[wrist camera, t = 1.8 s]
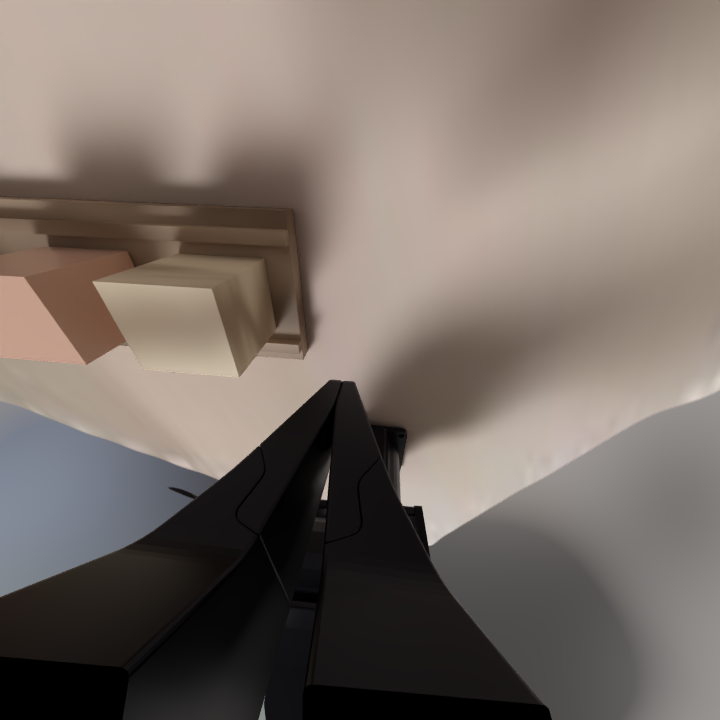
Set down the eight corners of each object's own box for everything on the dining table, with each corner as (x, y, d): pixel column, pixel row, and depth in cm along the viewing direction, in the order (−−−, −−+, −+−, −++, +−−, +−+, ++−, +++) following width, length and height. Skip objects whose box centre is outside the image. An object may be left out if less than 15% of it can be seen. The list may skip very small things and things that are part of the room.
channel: (307, 350, 19) (300, 364, 17) (34, 329, 20) (6, 341, 19) (292, 208, 14) (281, 211, 12) (-73, 193, 15) (-123, 194, 14)
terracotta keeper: (159, 321, 17) (86, 364, 13) (89, 316, 17) (-3, 356, 13) (127, 250, 14) (23, 276, 10) (46, 246, 15) (-86, 270, 11)
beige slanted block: (276, 329, 16) (239, 377, 12) (202, 324, 17) (142, 369, 13) (263, 258, 14) (211, 288, 10) (177, 253, 14) (92, 281, 10)
